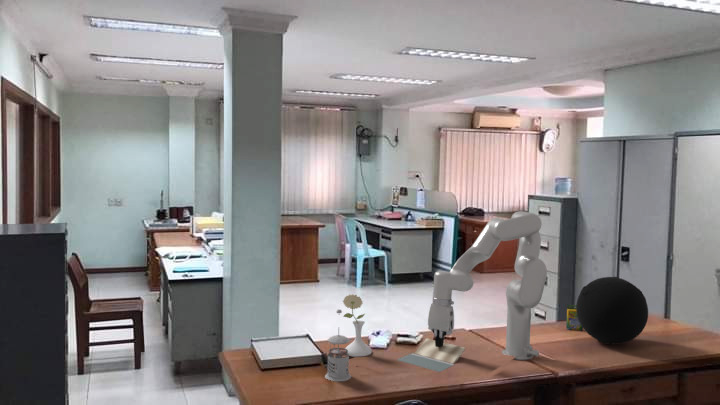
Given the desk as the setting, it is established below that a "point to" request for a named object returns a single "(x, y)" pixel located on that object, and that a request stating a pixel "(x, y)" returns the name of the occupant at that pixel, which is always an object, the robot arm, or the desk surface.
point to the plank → (440, 351)
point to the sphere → (612, 310)
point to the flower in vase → (356, 328)
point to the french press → (338, 359)
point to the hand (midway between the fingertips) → (439, 346)
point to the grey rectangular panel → (425, 362)
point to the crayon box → (572, 319)
